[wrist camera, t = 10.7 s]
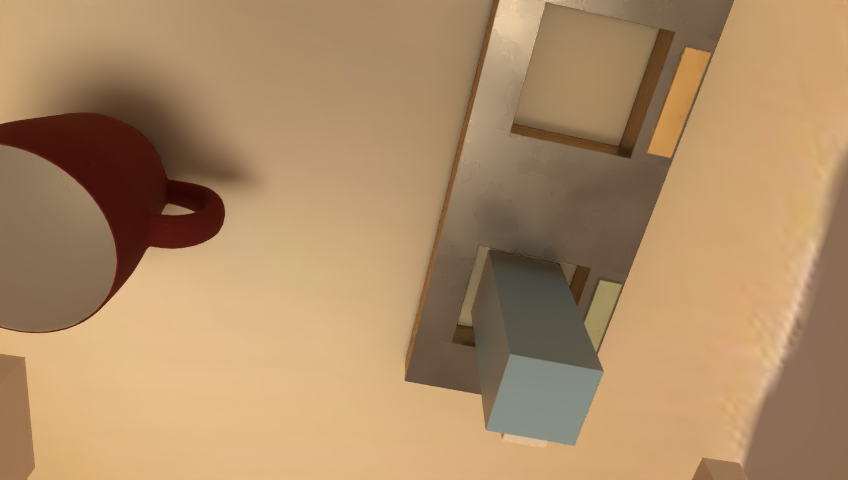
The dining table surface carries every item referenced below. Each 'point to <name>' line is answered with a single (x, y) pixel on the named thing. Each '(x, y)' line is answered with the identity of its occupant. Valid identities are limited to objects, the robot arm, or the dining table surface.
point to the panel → (556, 176)
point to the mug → (84, 216)
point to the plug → (532, 352)
